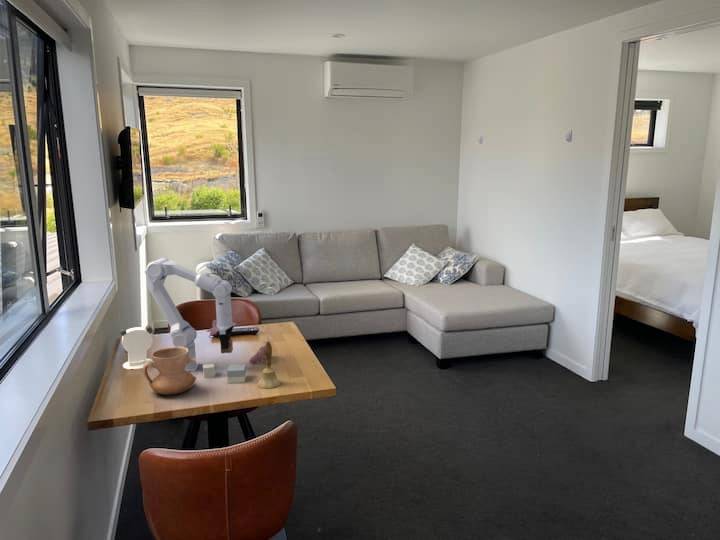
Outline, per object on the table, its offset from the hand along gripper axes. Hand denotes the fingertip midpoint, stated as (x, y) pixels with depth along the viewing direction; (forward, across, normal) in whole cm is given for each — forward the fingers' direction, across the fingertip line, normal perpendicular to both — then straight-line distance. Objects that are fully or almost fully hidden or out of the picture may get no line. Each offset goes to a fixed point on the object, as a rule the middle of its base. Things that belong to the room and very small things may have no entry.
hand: (226, 346), depth 208 cm
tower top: (+7, -11, -5) cm, 14 cm away
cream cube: (+9, -6, +6) cm, 13 cm away
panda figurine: (+9, +10, +36) cm, 38 cm away
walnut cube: (+2, 0, 0) cm, 2 cm away
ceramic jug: (+9, -18, +17) cm, 27 cm away
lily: (+9, +39, +8) cm, 41 cm away
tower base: (+9, -11, -5) cm, 16 cm away
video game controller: (+9, +8, -12) cm, 17 cm away
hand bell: (+9, -17, -17) cm, 26 cm away
